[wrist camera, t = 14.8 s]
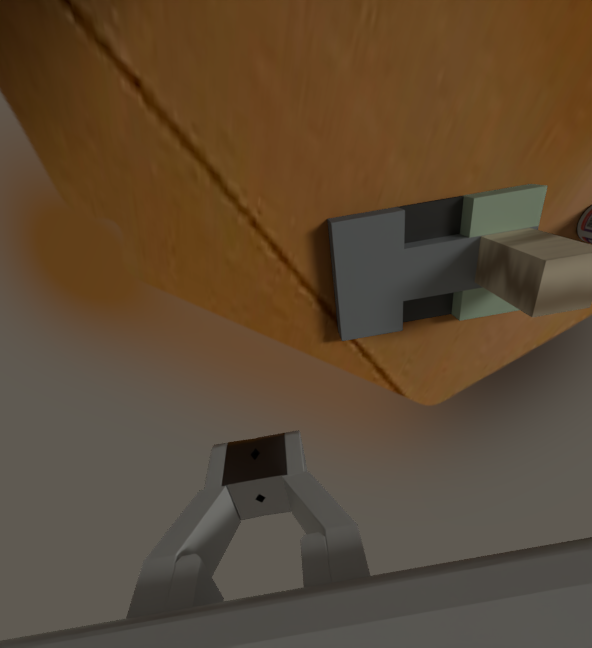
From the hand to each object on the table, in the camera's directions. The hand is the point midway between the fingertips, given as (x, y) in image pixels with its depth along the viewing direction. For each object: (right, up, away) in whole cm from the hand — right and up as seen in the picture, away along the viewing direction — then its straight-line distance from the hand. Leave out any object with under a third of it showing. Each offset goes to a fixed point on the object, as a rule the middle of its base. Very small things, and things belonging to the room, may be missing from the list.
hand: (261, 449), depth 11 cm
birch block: (+27, +13, +28) cm, 41 cm away
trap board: (+18, +12, +31) cm, 38 cm away
